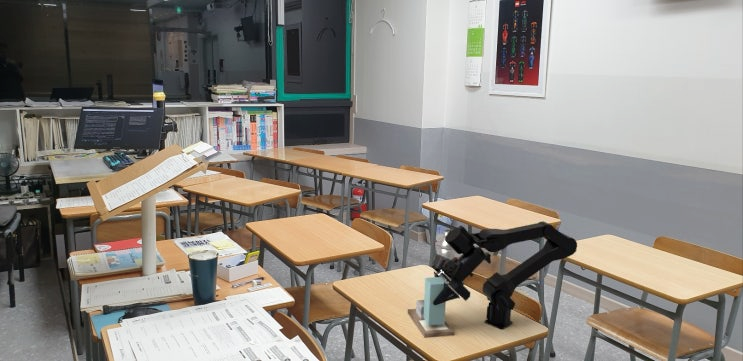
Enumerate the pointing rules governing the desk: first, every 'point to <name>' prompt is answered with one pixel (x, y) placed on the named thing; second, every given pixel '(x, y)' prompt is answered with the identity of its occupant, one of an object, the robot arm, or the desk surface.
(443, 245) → the silver ribbed bottle
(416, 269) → the desk surface
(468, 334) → the desk surface
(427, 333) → the base plate
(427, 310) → the pillar block
